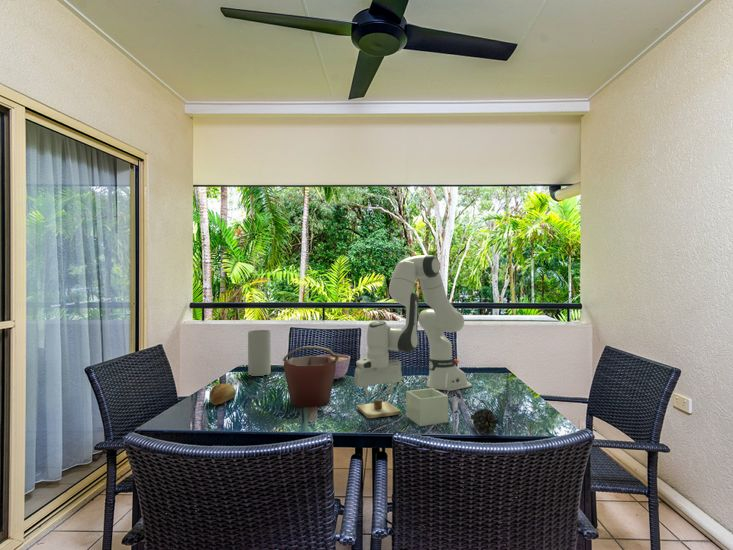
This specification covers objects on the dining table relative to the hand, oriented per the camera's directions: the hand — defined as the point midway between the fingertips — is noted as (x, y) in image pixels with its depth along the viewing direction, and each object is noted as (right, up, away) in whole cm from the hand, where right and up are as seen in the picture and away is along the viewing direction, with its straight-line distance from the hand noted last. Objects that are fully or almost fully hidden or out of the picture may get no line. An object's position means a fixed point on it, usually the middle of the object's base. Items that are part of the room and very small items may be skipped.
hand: (378, 394), depth 169 cm
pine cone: (+37, -7, -20) cm, 43 cm away
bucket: (-30, -8, +14) cm, 34 cm away
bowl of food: (-24, -8, +58) cm, 63 cm away
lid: (0, -7, 0) cm, 7 cm away
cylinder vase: (-67, -9, +68) cm, 96 cm away
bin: (+19, -7, -8) cm, 22 cm away
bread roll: (-70, -8, +16) cm, 73 cm away
